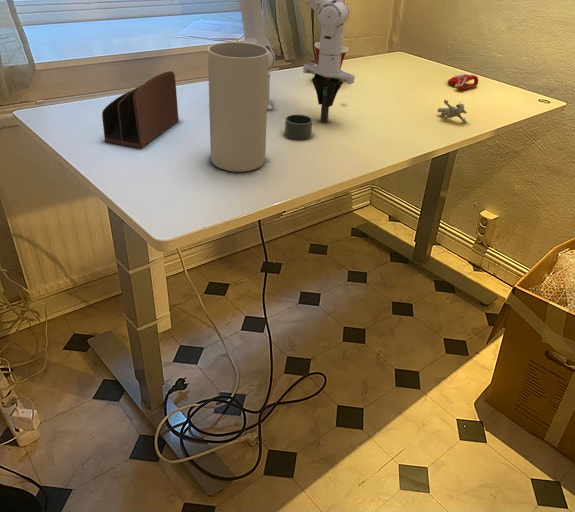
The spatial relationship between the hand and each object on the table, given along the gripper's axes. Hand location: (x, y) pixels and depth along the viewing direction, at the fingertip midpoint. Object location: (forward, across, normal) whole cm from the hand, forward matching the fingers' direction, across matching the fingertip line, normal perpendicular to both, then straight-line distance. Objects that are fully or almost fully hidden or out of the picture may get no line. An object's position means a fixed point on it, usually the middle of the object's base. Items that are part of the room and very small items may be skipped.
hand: (325, 104), depth 149 cm
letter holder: (+5, +30, +38) cm, 49 cm away
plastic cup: (+5, +17, -30) cm, 35 cm away
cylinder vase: (+5, +1, +35) cm, 36 cm away
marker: (+5, 0, 0) cm, 5 cm away
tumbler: (+5, 0, +13) cm, 14 cm away
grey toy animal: (+5, -26, -25) cm, 36 cm away
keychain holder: (+3, -18, -59) cm, 62 cm away
